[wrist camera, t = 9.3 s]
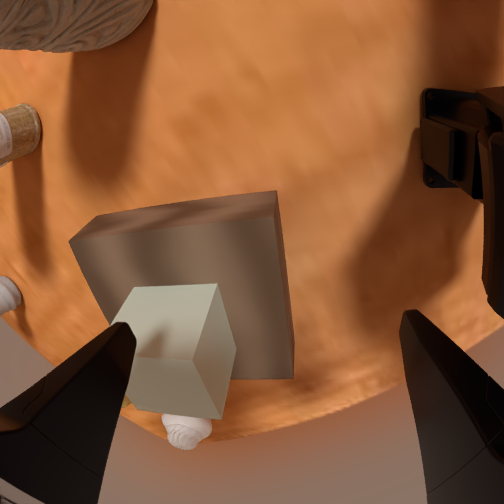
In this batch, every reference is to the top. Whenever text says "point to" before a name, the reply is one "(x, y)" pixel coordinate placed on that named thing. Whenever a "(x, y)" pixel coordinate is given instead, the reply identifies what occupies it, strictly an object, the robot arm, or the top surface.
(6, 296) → the rook chess piece
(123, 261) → the walnut base
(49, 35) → the carving
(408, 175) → the top surface
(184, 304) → the sage cube
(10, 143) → the sprinkles bottle
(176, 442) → the muffin
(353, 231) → the top surface
